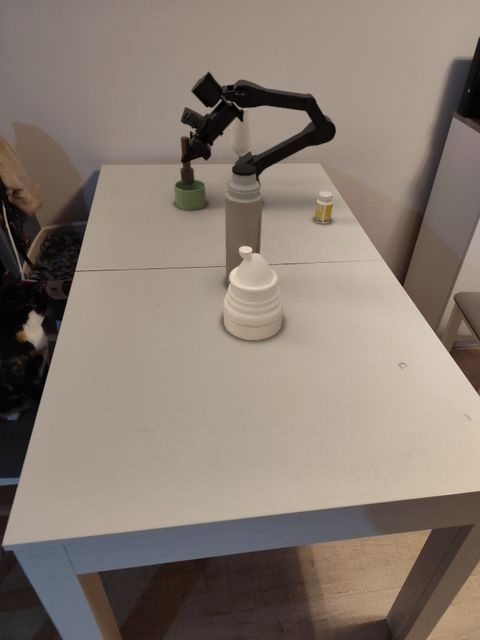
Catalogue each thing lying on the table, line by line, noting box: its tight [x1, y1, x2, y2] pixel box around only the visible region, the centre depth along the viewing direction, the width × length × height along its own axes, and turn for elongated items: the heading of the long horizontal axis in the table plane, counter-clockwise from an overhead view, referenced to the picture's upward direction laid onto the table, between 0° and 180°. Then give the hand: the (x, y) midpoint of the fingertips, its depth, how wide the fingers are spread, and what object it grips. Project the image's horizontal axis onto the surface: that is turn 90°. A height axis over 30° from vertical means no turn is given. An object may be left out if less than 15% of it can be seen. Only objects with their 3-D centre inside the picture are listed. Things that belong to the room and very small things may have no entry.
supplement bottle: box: [314, 190, 334, 225], centre depth 134 cm, size 5×5×8 cm
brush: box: [180, 135, 196, 185], centre depth 131 cm, size 4×4×13 cm
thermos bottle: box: [224, 164, 264, 288], centre depth 100 cm, size 8×8×28 cm
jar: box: [173, 178, 207, 211], centre depth 139 cm, size 9×9×6 cm
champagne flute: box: [229, 105, 251, 157], centre depth 146 cm, size 7×7×24 cm
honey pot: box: [222, 246, 284, 341], centre depth 92 cm, size 13×13×18 cm
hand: (182, 160), depth 131 cm, fingers closed on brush, 2 cm apart
